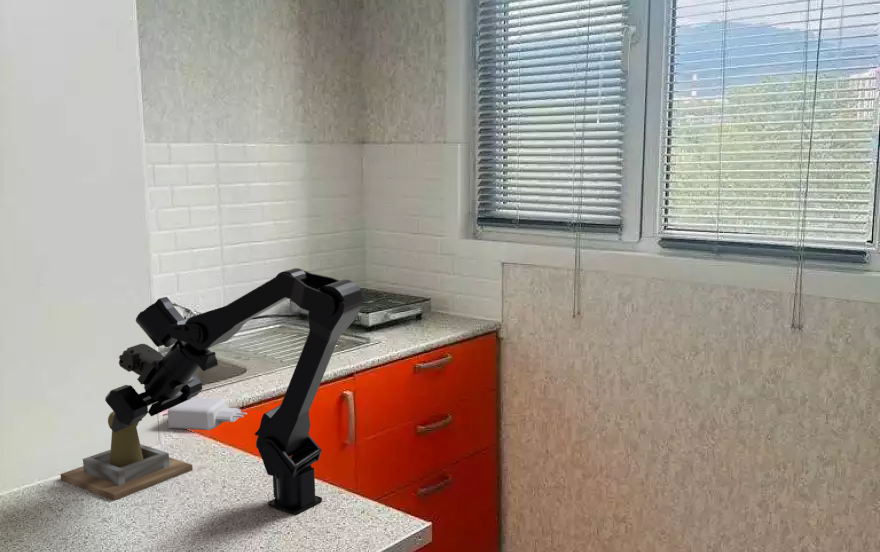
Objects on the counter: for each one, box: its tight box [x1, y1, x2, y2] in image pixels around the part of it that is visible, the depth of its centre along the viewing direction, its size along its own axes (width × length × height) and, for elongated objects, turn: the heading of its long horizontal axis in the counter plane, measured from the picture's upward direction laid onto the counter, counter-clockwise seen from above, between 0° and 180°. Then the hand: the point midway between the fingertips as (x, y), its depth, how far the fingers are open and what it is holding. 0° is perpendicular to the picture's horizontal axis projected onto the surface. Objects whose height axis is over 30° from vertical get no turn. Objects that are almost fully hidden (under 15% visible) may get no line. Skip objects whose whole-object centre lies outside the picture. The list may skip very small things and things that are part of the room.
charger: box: [167, 396, 248, 431], centre depth 184 cm, size 5×9×15 cm
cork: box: [107, 410, 143, 468], centre depth 156 cm, size 6×6×11 cm
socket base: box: [60, 443, 193, 501], centre depth 157 cm, size 16×16×4 cm
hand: (132, 421), depth 154 cm, fingers open, 9 cm apart
